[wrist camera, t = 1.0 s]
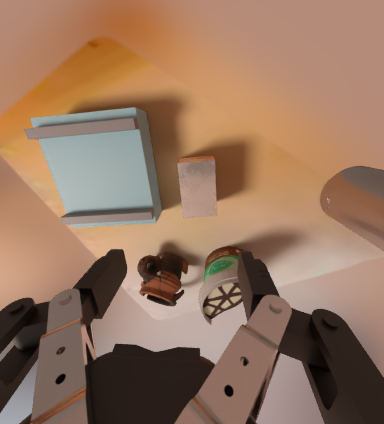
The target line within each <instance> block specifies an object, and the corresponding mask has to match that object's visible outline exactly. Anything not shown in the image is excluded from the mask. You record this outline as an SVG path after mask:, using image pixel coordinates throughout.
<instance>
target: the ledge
mask: <svg viewBox="0 0 384 424" xmlns="http://www.w3.org/2000/svg"><path fill="white" fill-rule="evenodd" d="M30 120H31V122H32V125H33V127H34V128H30V129H24V130H25V133H26V135H27V138H28V139H38V140H39V143H40V146H41V148H42V151H43V153H44V156H45V159H46V161H47V164H48V166H49V169H50V171H51V174H52V177H53V179H54V182H55V184H56V187H57V190H58V192H59V195H60V197H61V200H62V202H63V205H64V208H65V210H66V213H67V214H66V215H64V216H62V217H61V218H60V219H61V221H62V224H63V225H69V224H71V226H72V228H75V227H93V226H111V225H129V224H147V223H156V222H157V220H158V218H159V216H160V214H161V212H162V205H161V199H160V193H159V187H158V181H157V174H156V168H155V162H154V156H153V149H152V143H151V137H150V131H149V125H148V118H147V112H146V111H143V110H141V109H138V108H136V107H132V108H123V109H113V110H104V111H95V112H85V113H76V114H66V115H57V116H47V117H38V118H30Z"/></svg>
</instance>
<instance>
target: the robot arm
mask: <svg viewBox="0 0 384 424" xmlns="http://www.w3.org/2000/svg"><path fill="white" fill-rule="evenodd" d="M321 206H322V209H323V211H324V212H325V213H326V214H327V215H329V216H330V217H332V218H333V219H335V220H336V221H338V222H339V223H341V224H343V225H344V226H345V227H347V228H349V229H350V230H352V231H353V232H355V233H356V234H358V235H359V236H361V237H363V238H364V239H366V240H367V241H369V242H370V243H372V244H373V245H375V246H377V247H378V248H380V249H381V250H383V251H384V170H380V169H375V168H370V167H364V166H355V167H351V168H347V169H345V170H342V171H341V172H339V173H338V174H336V175H335V176H333V177H332V178H331V179H330V180H329V182H328V183H327V184H326V185H325V187H324V189H323V191H322V194H321ZM126 274H127V264H126V260H125V255H124V251H123V250H122V249H111V250H110V251H109V252H108V253H107V254H106V256H103V257H101V258H100V259H98V260H97V261H96V262H95V263H94V264H93V265H92V266H91V268H90V269H89V270H88V271H87V273H85V274H84V275H83V277H82V278H81V279H80V280H79V282H77V284H76V285H75V286H74V287H73V288H72V289H67V290H64V291H62V292H60V293H59V294H57V295H56V296H55V297H53V299H52V300H51V301H49V302H44V303H40V304H35V302H34V300H33V299H32V298H22V299H19V300H17V301H15V302H12V303H11V304H9V305H8V306H6V307H5V308H4V309H2V310H1V311H0V353H1V352H2V351H3V350H4V349H5V348H6V347H7V345H8V344H9V343H10V342H11V341H13V343H14V344H15V345H14V346H13V348H12V349H11V350H10V351H9V352H8V353H7V355H6V356H5V357H4V358H3V359H2V360H1V362H0V413H1V411H2V410H3V408H4V407H5V405H6V404H7V402H8V401H9V400H10V398H11V397H12V395H13V394H14V392H15V391H16V389H17V388H18V387H19V385H20V384H21V382H22V381H23V379H24V378H25V376H26V375H27V374H28V372H29V371H30V369H31V368H32V366H33V365H34V364H35V362H36V361H37V359H38V364H37V373H36V382H35V390H34V399H33V408H32V413H31V414H30V415H29V416H28V417H27V418H26V419H24V420H23V421H22V422H21V423H20V424H257V423H256V420H257V417H258V415H259V412H260V410H261V407H262V404H263V401H264V398H265V395H266V392H267V389H268V386H269V383H270V380H271V378H272V375H273V373H274V370H275V367H276V365H277V362H278V360H279V357H280V354H281V353H282V354H285V355H287V356H290V357H292V358H295V359H298V360H300V361H302V364H303V366H304V369H305V372H306V375H307V377H308V380H309V383H310V385H311V388H312V391H313V393H314V396H315V399H316V402H317V404H318V407H319V410H320V412H321V415H322V418H323V420H324V423H325V424H384V377H383V376H382V375H381V373H380V372H379V370H378V369H377V367H376V366H375V364H374V363H373V361H372V360H371V358H370V357H369V355H368V354H367V353H366V351H365V350H364V348H363V347H362V345H361V344H360V342H359V341H358V340H357V338H356V336H355V335H354V333H353V332H352V331H351V329H350V328H349V326H348V325H347V323H346V322H345V321H344V320H343V319H342V318H341V317H340V316H338V315H337V314H335V313H333V312H331V311H328V310H325V309H316V310H314V311H313V312H312V315H311V314H307V313H304V312H301V311H298V310H295V309H293V308H291V307H290V305H289V304H288V303H287V302H286V301H285V300H284V299H283V298H281V297H280V296H279V294H278V291H277V289H276V287H275V285H274V283H273V280H272V278H271V277H270V274H269V272H268V270H267V267H266V265H265V264H264V263H263V262H262V261H261V260H260V259H254V258H253V255H252V253H251V252H244V251H239V257H238V268H237V276H238V282H239V286H240V291H241V295H242V299H243V304H244V308H245V312H246V317H247V324H246V325H241V326H240V328H239V329H238V331H237V332H236V334H235V335H234V337H233V339H232V340H231V342H230V343H229V345H228V347H227V348H226V350H225V351H224V353H223V354H222V356H221V357H220V359H219V361H218V362H217V364H216V365H215V364H214V363H213V362H211V361H210V360H208V359H206V358H204V357H202V356H200V348H185V347H177V348H173V349H168V350H164V351H159V352H153V351H151V350H148V349H145V348H143V347H140V346H138V345H130V344H129V345H128V344H115V346H114V349H113V352H109V353H107V354H104V355H102V356H100V357H98V358H97V355H96V349H95V343H94V336H93V330H92V325H91V322H92V320H93V319H102V317H103V316H104V314H105V312H106V310H107V308H108V307H109V305H110V303H111V301H112V299H113V298H114V296H115V294H116V292H117V291H118V289H119V287H120V285H121V284H122V282H123V280H124V278H125V276H126Z"/></svg>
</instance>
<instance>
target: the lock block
mask: <svg viewBox="0 0 384 424" xmlns="http://www.w3.org/2000/svg"><path fill="white" fill-rule="evenodd" d="M177 167H178V176H179V184H180V193H181V202H182V211H183V218H190V217H208V216H217V203H216V173H215V159H214V157H213V155H210V156H198V157H186V158H181V159H180V160H179V162H178V163H177Z"/></svg>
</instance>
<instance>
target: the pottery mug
mask: <svg viewBox="0 0 384 424" xmlns="http://www.w3.org/2000/svg"><path fill="white" fill-rule="evenodd" d="M148 263H149V264H148ZM147 265H148V266H147ZM159 271H161V276H157V272H159ZM138 272H139V274H140V276H141V277H143V280H144V281H143V282H142V283H141V286H142V288H141V290H140V291H139V293H140V294H141V295H143V296H144V295H145V294H148V296H147V299H149V300H151V301H154V302H156V303H159V304H162V305H166V306H175V305H176V304H177V302H176V300H178V299H179V298H180V297H181V296H182V295H183V294H184V290H182V291H181V292H179V293H178V294H175V293H176V292H178V291H179V289H180V288H181V281H180V279H181V273H182V272H184V273H185V274H187V272H188V263H187V262H186V261H185V260H183V259H182V258H180V257H179V256H177V255H175V254H172V253H165V254H164V256H163V257H162V258H160V257H159V256H152V255H148V256H145V257H143V258H142V259H141V260H140V261H139V263H138Z"/></svg>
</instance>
